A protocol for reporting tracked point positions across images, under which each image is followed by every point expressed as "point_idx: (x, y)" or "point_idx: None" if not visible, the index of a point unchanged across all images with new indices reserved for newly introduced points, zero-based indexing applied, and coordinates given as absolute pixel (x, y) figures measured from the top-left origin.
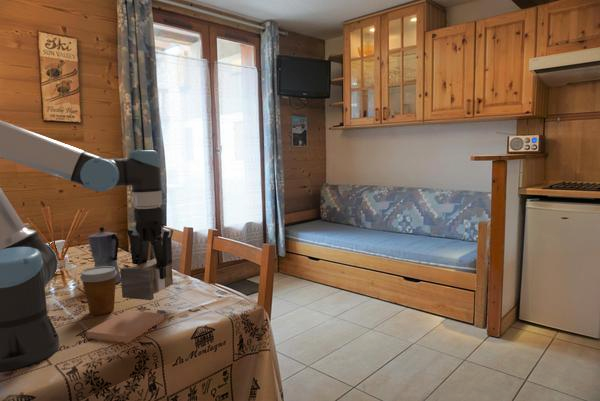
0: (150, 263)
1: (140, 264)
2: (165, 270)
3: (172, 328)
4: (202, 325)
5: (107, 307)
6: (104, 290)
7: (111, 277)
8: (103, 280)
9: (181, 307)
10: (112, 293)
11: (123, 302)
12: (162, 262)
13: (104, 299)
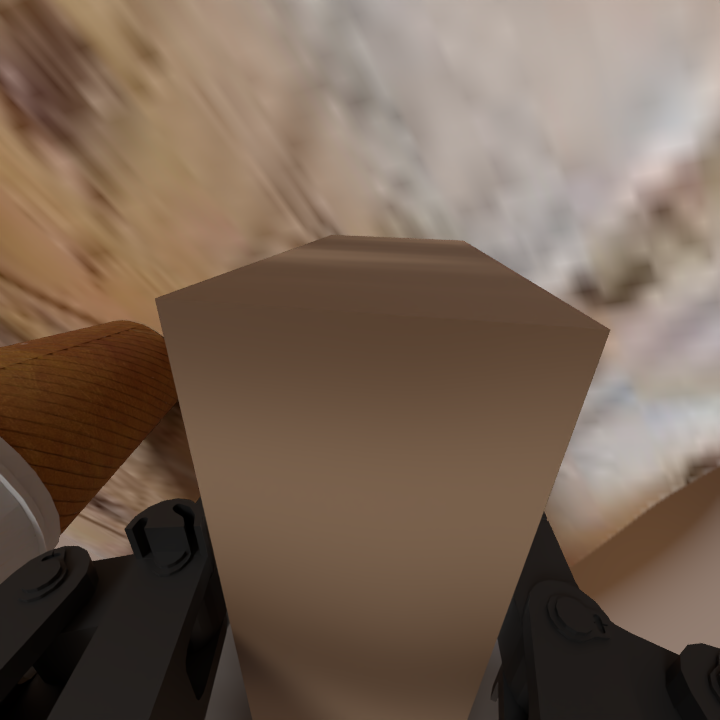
0: (371, 706)
1: (262, 717)
2: (556, 556)
3: (568, 484)
4: (712, 452)
5: (170, 400)
6: (108, 476)
7: (46, 509)
8: (57, 543)
9: (511, 260)
10: (127, 410)
11: (127, 251)
12: (545, 668)
13: (143, 439)
